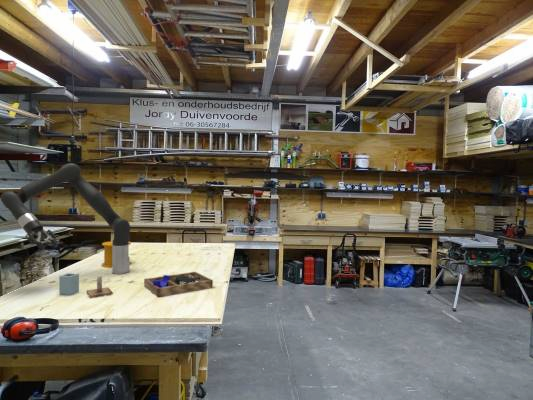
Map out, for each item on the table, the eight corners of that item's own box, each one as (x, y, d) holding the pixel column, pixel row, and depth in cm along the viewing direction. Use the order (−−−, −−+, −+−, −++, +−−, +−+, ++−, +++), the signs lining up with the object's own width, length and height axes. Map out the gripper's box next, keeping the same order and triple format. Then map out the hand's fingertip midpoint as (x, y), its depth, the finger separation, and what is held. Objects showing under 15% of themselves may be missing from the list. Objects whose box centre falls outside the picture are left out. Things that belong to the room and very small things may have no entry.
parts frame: (195, 278, 201) (195, 271, 201) (212, 287, 184) (212, 280, 184) (144, 286, 184) (144, 278, 184) (157, 297, 166) (157, 288, 166)
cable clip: (161, 285, 184) (161, 274, 184) (169, 286, 184) (169, 275, 183) (150, 292, 173) (150, 280, 172) (158, 293, 172) (158, 281, 171)
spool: (133, 265, 230) (133, 243, 229) (104, 269, 219) (104, 245, 219) (127, 260, 244) (127, 239, 244) (99, 263, 234) (99, 241, 234)
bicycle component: (188, 276, 197) (170, 283, 184) (192, 266, 196) (173, 272, 182) (204, 287, 192) (186, 295, 179) (208, 276, 191) (190, 284, 178)
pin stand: (108, 289, 177) (108, 273, 177) (112, 294, 169) (112, 278, 169) (86, 292, 171) (86, 276, 171) (90, 298, 163) (90, 281, 163)
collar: (68, 290, 173) (68, 273, 173) (78, 291, 173) (78, 273, 172) (59, 294, 167) (59, 276, 167) (70, 295, 167) (70, 276, 166)
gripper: (23, 220, 166) (43, 245, 165) (46, 218, 180) (65, 240, 179) (13, 230, 167) (34, 255, 166) (37, 227, 181) (56, 250, 180)
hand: (50, 247), depth 172 cm, fingers open, 8 cm apart
